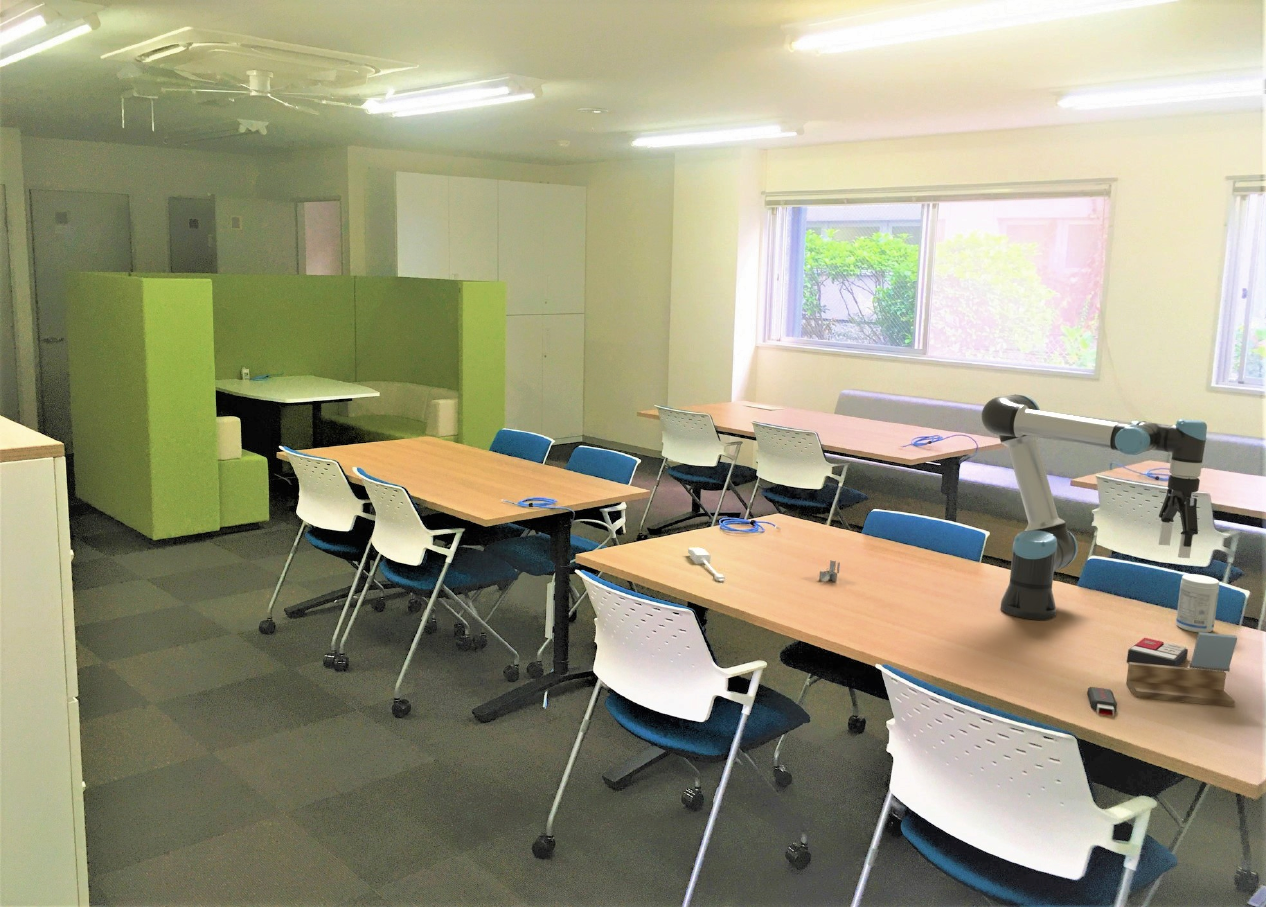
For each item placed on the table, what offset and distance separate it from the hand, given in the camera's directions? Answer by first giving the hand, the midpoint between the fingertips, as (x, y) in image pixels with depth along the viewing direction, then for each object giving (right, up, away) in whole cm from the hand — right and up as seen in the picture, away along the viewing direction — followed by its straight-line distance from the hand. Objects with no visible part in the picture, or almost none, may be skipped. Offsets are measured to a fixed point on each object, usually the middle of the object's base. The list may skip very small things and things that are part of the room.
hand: (1173, 551), depth 280 cm
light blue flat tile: (-14, -19, -43) cm, 49 cm away
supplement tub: (+10, -23, +8) cm, 26 cm away
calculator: (-15, -27, -20) cm, 37 cm away
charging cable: (-126, -11, +51) cm, 136 cm away
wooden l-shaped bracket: (-22, -30, -43) cm, 57 cm away
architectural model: (-87, -15, +36) cm, 96 cm away
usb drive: (-43, -31, -50) cm, 73 cm away
